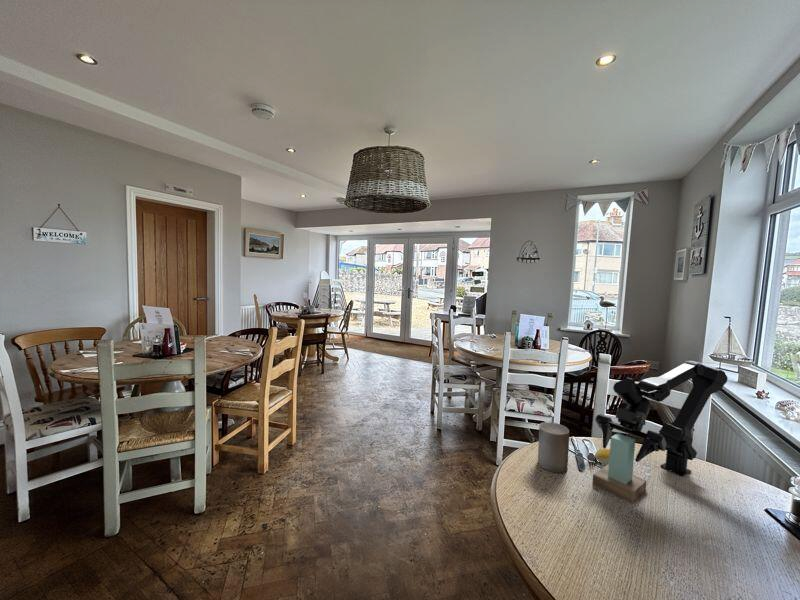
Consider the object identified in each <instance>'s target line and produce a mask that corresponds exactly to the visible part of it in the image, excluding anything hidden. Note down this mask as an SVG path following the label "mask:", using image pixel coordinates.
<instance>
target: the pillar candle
mask: <svg viewBox="0 0 800 600" xmlns="http://www.w3.org/2000/svg"><path fill="white" fill-rule="evenodd" d="M538 428H539V429H538V430H539V432H538V449H537V450H538V451H537V464H538V463H539V464H538V465H539V466H540V467H541V468H542V467H543V468H544V470H545V469H546V470H545V471H547V470H548V471H547V472H550V471H551V472H550V473H553V472H554V473H556V474H561V473H566V472H568V466H569V465H568V464H569V463H568V462H569V449H570V429H569V428H568V427H567V426H565V425H564V424H563V425H562V424H560V423H558V422H551V421H549V422H548V421H547V422H546V421H545V422H541V423H539V425H538ZM543 468H542V469H543Z"/></svg>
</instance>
